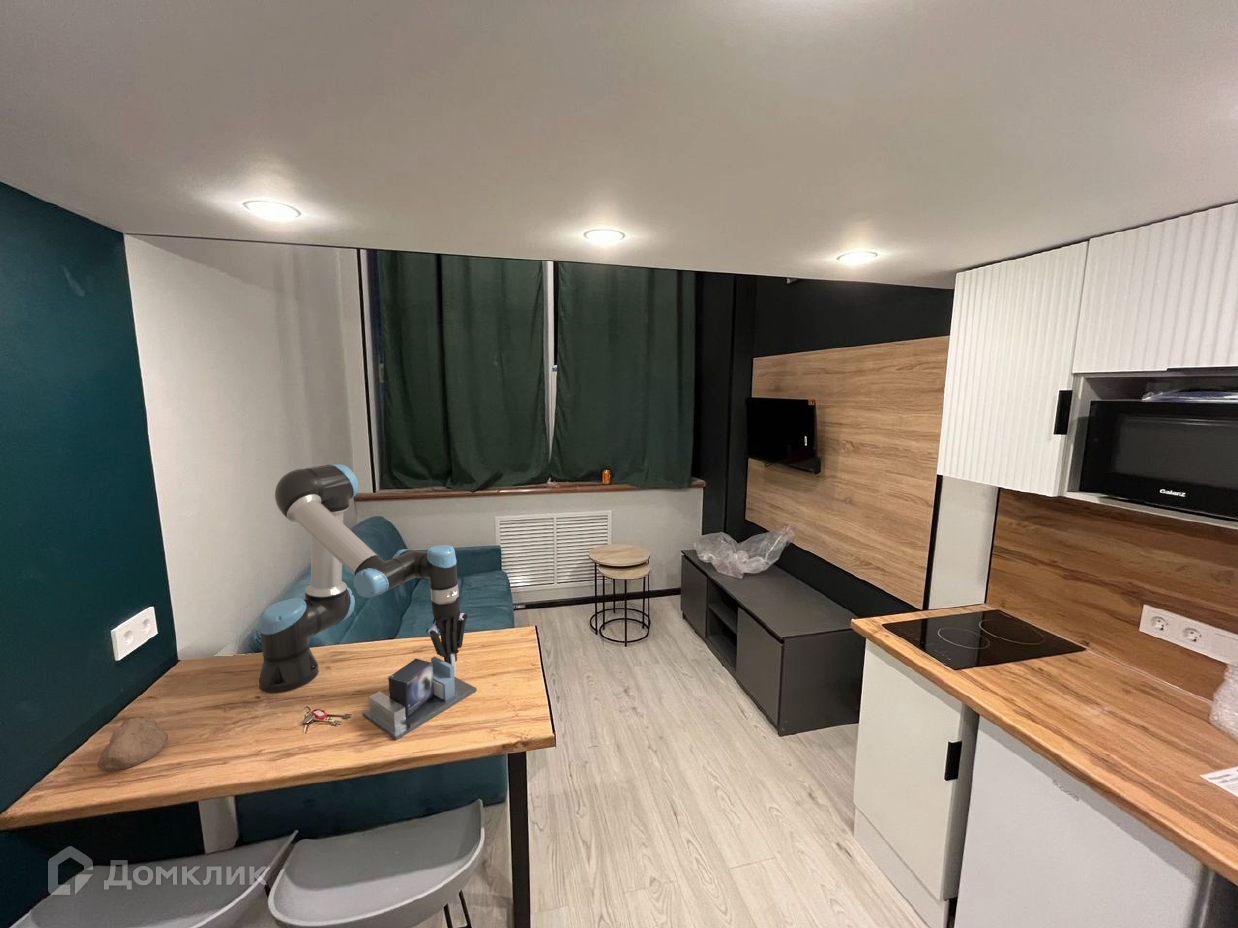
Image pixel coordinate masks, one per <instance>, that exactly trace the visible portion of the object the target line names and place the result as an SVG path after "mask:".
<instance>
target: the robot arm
mask: <svg viewBox="0 0 1238 928" xmlns="http://www.w3.org/2000/svg"><path fill="white" fill-rule="evenodd" d="M358 492H359V482H358V479H357V477H356V475H355V473H354V472H353V471H352V470H351V468H350V467H348V466H347V465H344V464H339V463H337V464H336V463H335V464H330V463H329V464H325V465H324V464H323V465H319V466H313V467H307V468H299V469H298V468H297V469H294V470H291V471H289V472H287V473H285V474H284V475H283V476H282V477H281V478H280V479H279V480H278V482H277V484H276V486H275V491H274V498H275V499H274V500H275V503H276V505H277V508H278V510H279V511H280V512H281V513H282V515H283V516H284V517H285V518H286V519H288V521H290V522H291V523H292V522H293V523H298V524H299V526H300V527H302V528H303V529H304V530H305V531H306V532H307V533H308V534H310V535H311V536H310V537H311V541H310V542H311V547H310V548H311V550H310V551H311V552H310V553H311V555H310V557H311V558H310V583H309V585H308V586H306V587H305V590H304V599H302V598H300V597H295V598H294V597H293V598H288V599H286V600H284V599H283V600H280V601H278V602H276V603H273V604H271V605H270V606H267V607H266V608H265V609H264V610H263V611H262V613H261V614H260V617H259V633H260V640H261V648H262V657H263V663H262V665H261V670H260V673H259V677H258V688H259V690H260V691H261V692H264V693H267V694H279V693H284V692H289V691H292V690H296V689H298V688H301V687H303V686H304V685H307V684H308V683H310V682H312V681H313V680H314V679H315V678H316V677H317V676H318V675H319V671H320V669H319V663H318V661H317V660H316V658H315V656H314V654H313V652H312V650H311V649H310V638H311V637H313V636H315V635H317V634H319V633H321V632H323V631H326V630H327V629H330V628H332V627H333V626H336V625H339V624H341V623H342V622H343V621H345V620H347V619H348V618H349V617H350V616H351V615H352V614H353V612H354V609H355V605H356V601H355V596H354V595H353V591H352V590H351V588H349V587H348V585H347V583H345V582H344V581H343V580H342V579H343V567H345V568H346V569H347V570H348V571H349V572H350V573H351V574H352V575H353V576H354V577H353V580H352V581H353V588H354V589H356V593H357V594H358V595H359V596H360V597H362V598H366V599H370V598H373V597H377V596H378V595H382V594H384V593H386V592H388V591H389V590H391V589H393V588H395V587H397V586H399V585H403V584H404V583H406V582H408V581H411V580H412V579H415V578H419V579H426V580H427V579H428V580H429V588H430V589H429V590H430V599H431V612H432V615H433V621H432V626H431V627H430V628H426V630H425V633H426V634H427V635H429V637H430V639H431V641H432V645H433V647H434V650H435V652H436V655H437V656H440V657H441V658H443V661H445V662H447V663H449V664H451V665H453V666H454V676H456V675H457V666H456V662H458V657H457V656H458V653H459V652H460V650H459V649H461V648H462V647H463V640H464V635H465V634H464V633H465V627H466V622H467V619H468V614H467V613H464V612H461V611H460V609H461V605H460V597H459V582H458V581H459V580H458V574H457V573H458V572H457V571H458V570H457V568H458V567H457V557H456V550H455V549H454V547H453V546H452V545H449V544H440V545H434V546H432V547H429V548H428V550H427V551H423V550H416V549H412V548H409V549H399V550H397V552H396V553H395V554H394V555H393V557H392V558H391V559H388V560H383V559H382V558H381V557H380V556H379V555H378V554H377V553H375V552H374V550H373V549H371V548H370V547H369V546H368V545H367V544H366V543H365V542H364V541H362V539H361V538H360V537H358V536H357V535H356V534H355V533H354V532H353V531H352V530H351V529H350V528H348V527H347V525H345V523H344V513H345V512H346V511H348V509H349V508H350V499H353V498H354V497H356V495H357V494H358ZM438 631H439V634H440V635H439V634H438Z"/></svg>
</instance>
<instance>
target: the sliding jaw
mask: <svg viewBox="0 0 1238 928" xmlns="http://www.w3.org/2000/svg"><path fill="white" fill-rule="evenodd" d="M430 662H431V663H432V664H433V688H434V695H436V696H438V697H439V698H441V699H443V700H445V701H447V700H448V699H450V698H452V697H453V696H455V682H454V677H455V675H454V666H453V665H451V664H449V663H447V662H445V661H444V659H441V658H438V657H437V656H433V657H430Z"/></svg>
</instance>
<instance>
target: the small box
mask: <svg viewBox="0 0 1238 928" xmlns="http://www.w3.org/2000/svg"><path fill="white" fill-rule="evenodd" d="M387 680H388V697H390V698H391V699H393V700H394V701H396V702H397V703H399V704H401V705H402V706H404V707H405V715H406V718H407V717H409V716H410V715H411V714H412V713H414V712H415V711H416V710H417V709H419V708H420V707H421V706H422V705H423V704H425V703H426V702H427V701H428V700H430V699H431V698H432V697H434V688H433V664H432V663H431V661H427V660H423V659H419V658H414V659H413V660H412V661H410V662H408V663H407V664H406V665H404V666H402V667H401V668H399V670H397V671H395V672H393V673H392V674H391V675H390V676H388V677H387Z"/></svg>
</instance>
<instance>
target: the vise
mask: <svg viewBox="0 0 1238 928" xmlns="http://www.w3.org/2000/svg"><path fill="white" fill-rule="evenodd" d="M454 682H455V696H453V697H452V698H450V699H448V700H447V701H445V700H443V699H441V698H439V697H438V696H436V695H434V697H432V698H431V699H430V700H428V701H427V702H426V703H425V704H423V705H422V706H421V707H420V708H419V709H417V710H416V711H415V712H414V713H412V714H411V715H410V716H409V717H407V718H406V715H405V707H404V706H402V705H401V704H399V703H397V702H396V701H394V700H393V699H391V698H390V697H389V695H386V694H385V693H383V692H381V691H377V692H376V693H373V694H371V695H369V696H368V705H369V709H368V710H366V711H365V712H362V717H363V718H364V719H365V720H367V721H368V722H370V723H371V724H373V725H374V726H375V727H377V728H378V729H380V730H381V731H382V732H384V733H385V734H387V735H388V736H389V737H391V738H392V739H394V740H396V741H397V740H399V739H401V738H403V737H405V735H407V734H409V733H410V732H412V731H414V730H416V729H417V728H419V727H421V726H422V725H424V724H425V723H427V722H429V721H430V720H433V719H434V718H435V717H437V716H438V715H440V714H441V713H444V712H445V711H447V710H448V709H450V708H452V707H453V706H455V705H456V704H458V703H459V702H461V701H463V700H465V699H466V698H468V697H469V696H471V695H473V694H475V693H476V692H477V687H475V686H473V685H471V684H469V683H467V682H465V681H464V680H461V679H460V678H458V677H456V676H454Z"/></svg>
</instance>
